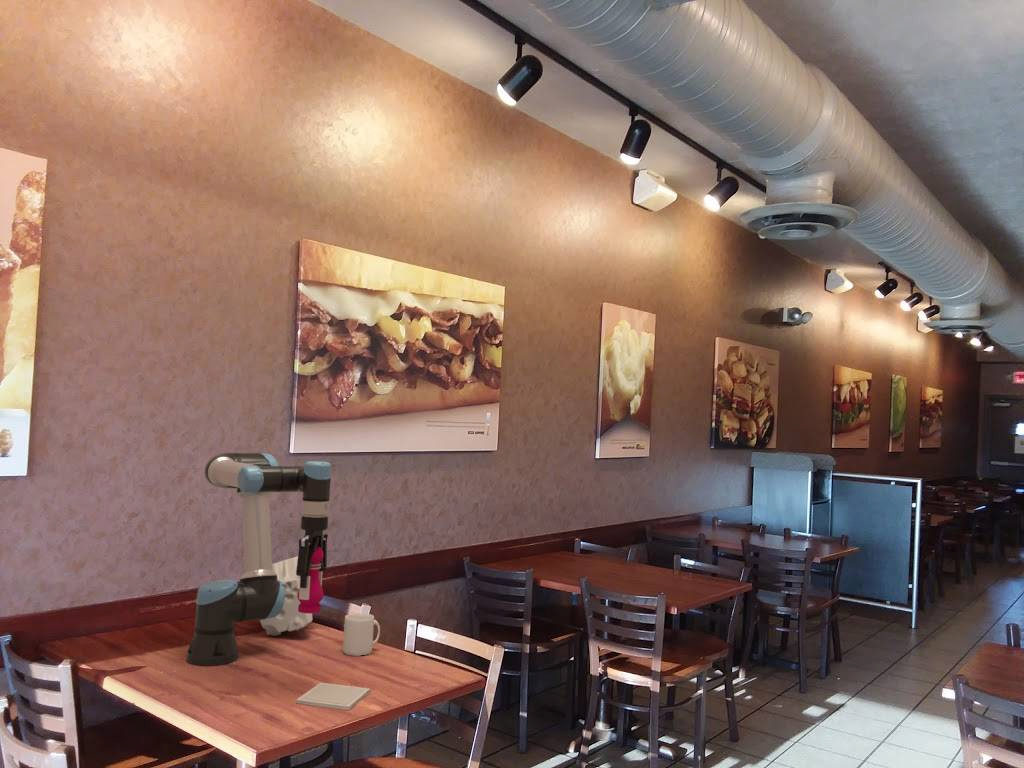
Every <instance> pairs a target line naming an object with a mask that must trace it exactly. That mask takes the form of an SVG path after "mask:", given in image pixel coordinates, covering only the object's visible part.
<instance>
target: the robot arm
mask: <svg viewBox="0 0 1024 768" xmlns="http://www.w3.org/2000/svg"><path fill="white" fill-rule="evenodd" d="M331 472H332V464H331V463H330V462H329V461H328V462H327V461H319V460H317V461H314V460H313V461H312V460H311V461H309V460H308V461H306V462H305V464H304V465H298V464H297V465H296V464H295V465H293V466H292V465H290V466H288V465H287V466H286V465H285V466H284V465H283V466H281V465H279V464H278V461H277V459H276V458H275V457H274V456H273V455H272V454H270V453H263V452H248V453H247V452H225V453H220V454H217V455H215V456H212V457H211V458H210V459H209V460H208V461H207V463H206V464H205V466H204V477H205V479H206V480H207V482H208V483H209V484H210V485H212V486H214V487H218V488H223V489H236V495H237V496H238V497H239V498H240V499H241V501H242V502H241V503H242V504H241V506H242V532H243V533H242V534H243V535H242V538H243V562H244V563H243V568H244V572H243V574H242V575H241V577H240V578H239V583H238V581H237V580H235V579H231V578H230V579H217V580H212V581H209V582H206V583H204V584H202V585H201V586H200V587H198V590H197V596H196V600H195V604H196V607H195V618H194V633H193V637H192V639H191V641H190V644H189V647H188V649H187V652H186V657H185V658H186V661H187V663H190V664H191V665H198V666H220V665H226V664H229V663H233V662H235V661H237V660H238V659H239V651H240V650H239V647H238V642H237V639H236V636H235V625H236V623H241V622H243V623H244V622H251V621H260V620H261V619H262V620H264V619H268V618H273V617H276V616H277V615H278V614H279V613H280V612H281V610H282V608H283V605H284V600H285V587H284V584H283V582H282V581H279V580H277V574H276V573H275V572H274V571H273V570H272V564H273V562H272V561H273V559H272V558H273V557H272V538H271V537H272V534H271V512H270V510H271V508H270V497H271V496H272V495H273V493H302V502H301V503H302V504H301V514H302V517H301V520H300V529H301V530H303V531H304V536H303V537H304V538H299V540H298V555H297V556H298V561H297V570H296V574H297V576H300V588H299V599H302V600H309V591H310V576H309V572H310V567H311V562H312V555H313V553H314V552H315V551H316V547H317V546H318V547H320V548H321V549H322V550H323V554H324V556H323V559H322V560H321V561H320V563H321V568H320V569H319V581H320V584H321V587H322V586H323V572H326V570H327V564H328V563H327V561H328V560H327V559H328V556H327V554H328V551H327V550H328V544H327V543H328V537H329V535H328V533H324V531H326V530H328V527H329V517H328V515H329V510H330V509H329V508H331V505H330V495H331V494H330V493H331V484H332V483H331V481H332V480H331V479H332V473H331ZM322 588H323V587H322Z"/></svg>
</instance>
